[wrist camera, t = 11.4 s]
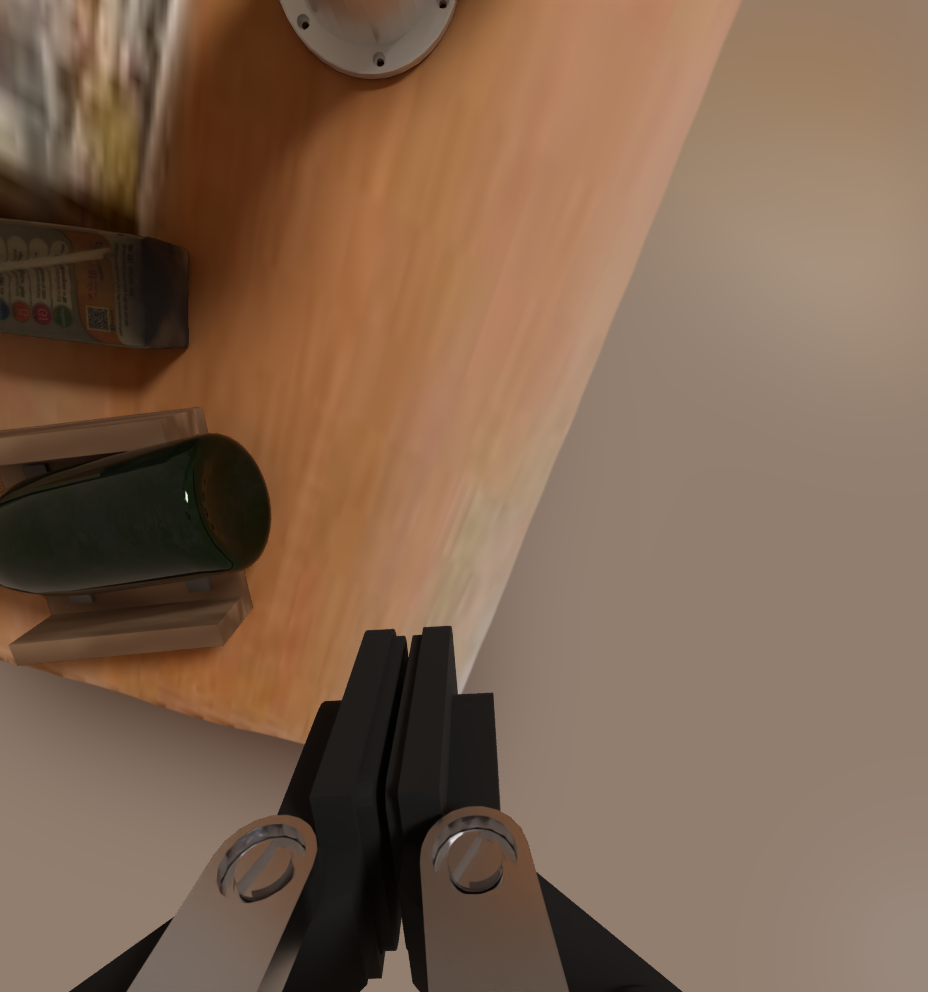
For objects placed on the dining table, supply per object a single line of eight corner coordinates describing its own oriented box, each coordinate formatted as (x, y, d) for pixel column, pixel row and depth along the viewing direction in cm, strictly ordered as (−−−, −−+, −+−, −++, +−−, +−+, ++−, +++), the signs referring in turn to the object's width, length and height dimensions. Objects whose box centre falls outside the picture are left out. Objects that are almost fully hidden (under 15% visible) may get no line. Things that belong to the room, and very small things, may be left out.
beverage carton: (-55, 215, 43) (-146, 196, 37) (194, 245, 43) (147, 232, 37) (-39, 322, 45) (-122, 322, 39) (197, 350, 46) (153, 354, 39)
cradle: (-2, 431, 48) (-73, 446, 41) (201, 406, 47) (159, 419, 41) (70, 625, 53) (17, 665, 47) (253, 607, 52) (223, 645, 46)
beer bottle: (219, 401, 41) (-126, 481, 47) (165, 505, 33) (-235, 584, 40) (287, 496, 48) (-19, 555, 54) (255, 600, 41) (-95, 653, 47)
